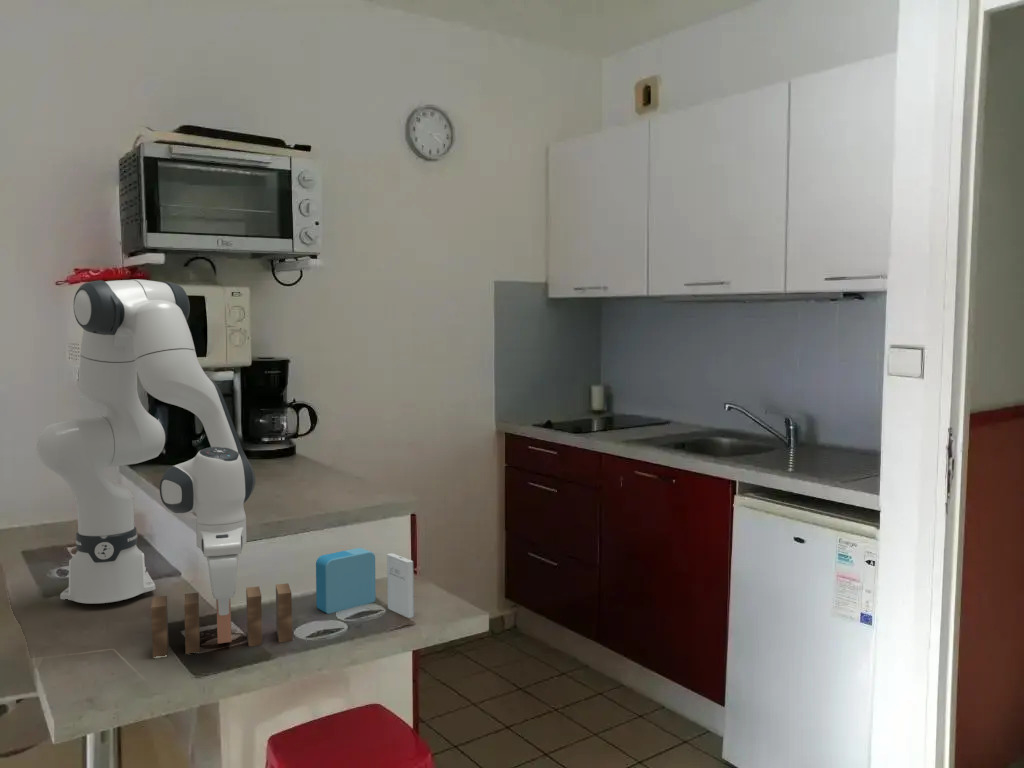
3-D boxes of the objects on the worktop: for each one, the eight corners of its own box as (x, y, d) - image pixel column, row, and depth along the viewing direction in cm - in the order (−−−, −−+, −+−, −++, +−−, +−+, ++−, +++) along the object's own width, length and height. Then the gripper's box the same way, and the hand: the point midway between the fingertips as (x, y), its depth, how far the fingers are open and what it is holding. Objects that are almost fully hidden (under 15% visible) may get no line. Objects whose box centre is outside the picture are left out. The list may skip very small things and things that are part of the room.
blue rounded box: (365, 599, 184) (364, 546, 183) (376, 604, 181) (375, 550, 180) (316, 612, 176) (315, 556, 175) (326, 617, 173) (325, 560, 172)
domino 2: (185, 657, 152) (184, 603, 151) (186, 645, 158) (184, 593, 157) (199, 655, 153) (198, 602, 152) (199, 644, 158) (198, 592, 158)
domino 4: (248, 649, 156) (247, 597, 155) (247, 638, 161) (246, 587, 161) (262, 647, 157) (261, 595, 156) (260, 636, 162) (259, 586, 161)
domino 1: (152, 661, 150) (151, 607, 149) (154, 649, 156) (153, 597, 155) (167, 659, 151) (165, 605, 150) (168, 647, 156) (167, 595, 156)
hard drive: (393, 609, 178) (392, 552, 177) (415, 620, 171) (414, 561, 171) (386, 611, 176) (386, 554, 176) (408, 622, 170) (408, 562, 169)
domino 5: (279, 645, 158) (278, 593, 157) (276, 634, 163) (275, 584, 163) (292, 644, 159) (291, 592, 158) (289, 633, 164) (288, 583, 163)
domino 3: (217, 643, 154) (216, 590, 153) (217, 632, 159) (215, 581, 159) (231, 641, 154) (230, 589, 154) (230, 630, 160) (229, 579, 159)
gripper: (203, 524, 164) (205, 592, 165) (203, 550, 145) (205, 627, 146) (237, 521, 166) (238, 589, 167) (241, 546, 147) (243, 623, 148)
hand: (223, 607), depth 156 cm, fingers closed on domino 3, 6 cm apart
